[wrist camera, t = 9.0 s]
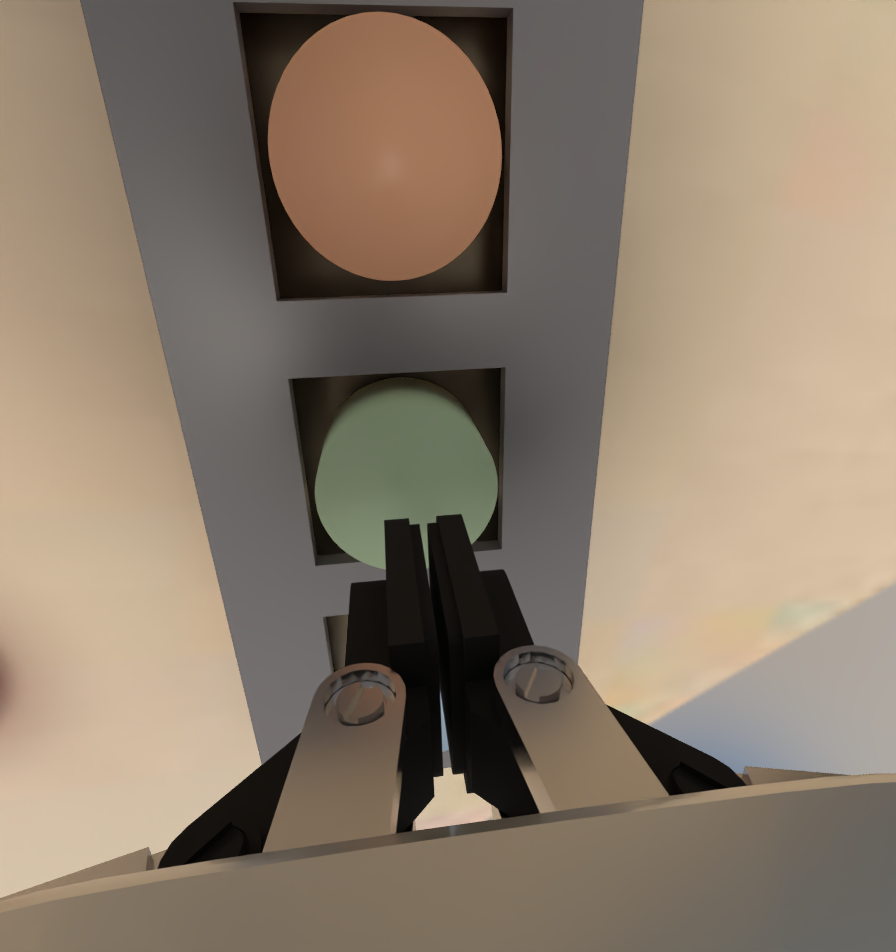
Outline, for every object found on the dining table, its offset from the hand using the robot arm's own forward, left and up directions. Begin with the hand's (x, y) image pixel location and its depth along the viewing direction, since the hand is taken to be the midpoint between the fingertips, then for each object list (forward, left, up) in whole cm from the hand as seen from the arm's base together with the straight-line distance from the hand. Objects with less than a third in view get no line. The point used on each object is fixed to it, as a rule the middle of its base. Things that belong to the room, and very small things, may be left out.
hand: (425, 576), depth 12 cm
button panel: (0, 0, -8) cm, 8 cm away
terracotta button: (-8, 0, -7) cm, 11 cm away
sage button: (0, 0, -7) cm, 7 cm away
